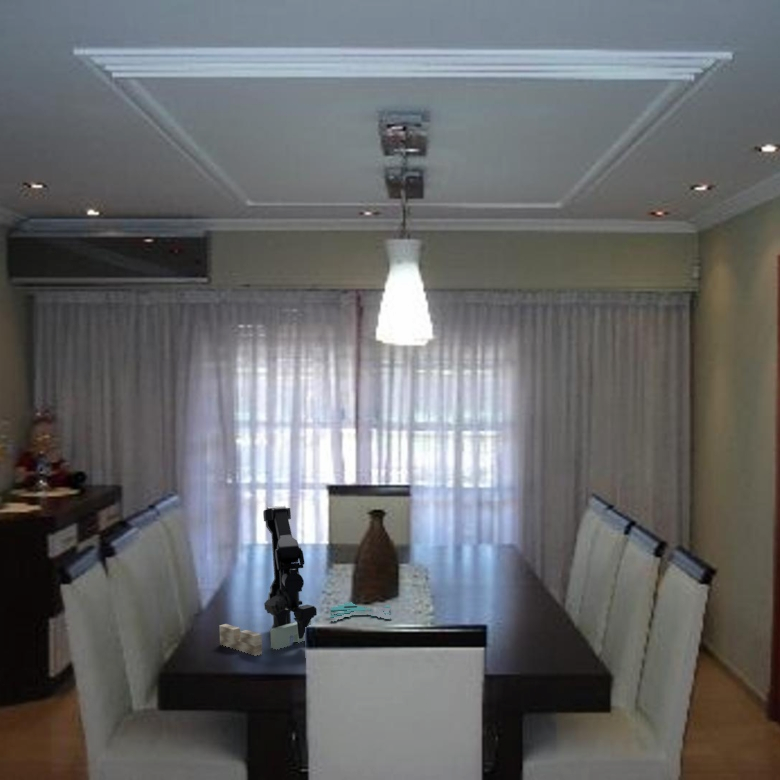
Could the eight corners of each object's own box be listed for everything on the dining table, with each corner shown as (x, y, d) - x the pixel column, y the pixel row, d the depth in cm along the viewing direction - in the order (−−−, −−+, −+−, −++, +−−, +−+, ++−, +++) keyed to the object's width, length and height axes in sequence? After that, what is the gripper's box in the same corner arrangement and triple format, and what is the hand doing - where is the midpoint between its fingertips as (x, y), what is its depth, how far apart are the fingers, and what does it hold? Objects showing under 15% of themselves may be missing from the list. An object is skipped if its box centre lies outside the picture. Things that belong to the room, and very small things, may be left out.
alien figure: (390, 621, 322) (388, 605, 342) (390, 614, 321) (388, 599, 341) (330, 623, 321) (332, 608, 341) (330, 617, 321) (331, 602, 341)
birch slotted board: (220, 644, 299) (219, 625, 299) (226, 643, 301) (225, 623, 300) (255, 656, 286) (254, 635, 286) (262, 654, 288) (261, 634, 288)
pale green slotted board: (275, 650, 292) (275, 630, 291) (270, 648, 293) (270, 628, 293) (311, 639, 301) (310, 620, 301) (306, 638, 303) (305, 619, 303)
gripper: (249, 585, 298) (251, 636, 298) (288, 594, 285) (289, 647, 285) (278, 579, 306) (280, 628, 306) (316, 587, 292) (318, 639, 293)
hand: (291, 635), depth 297 cm, fingers open, 9 cm apart
